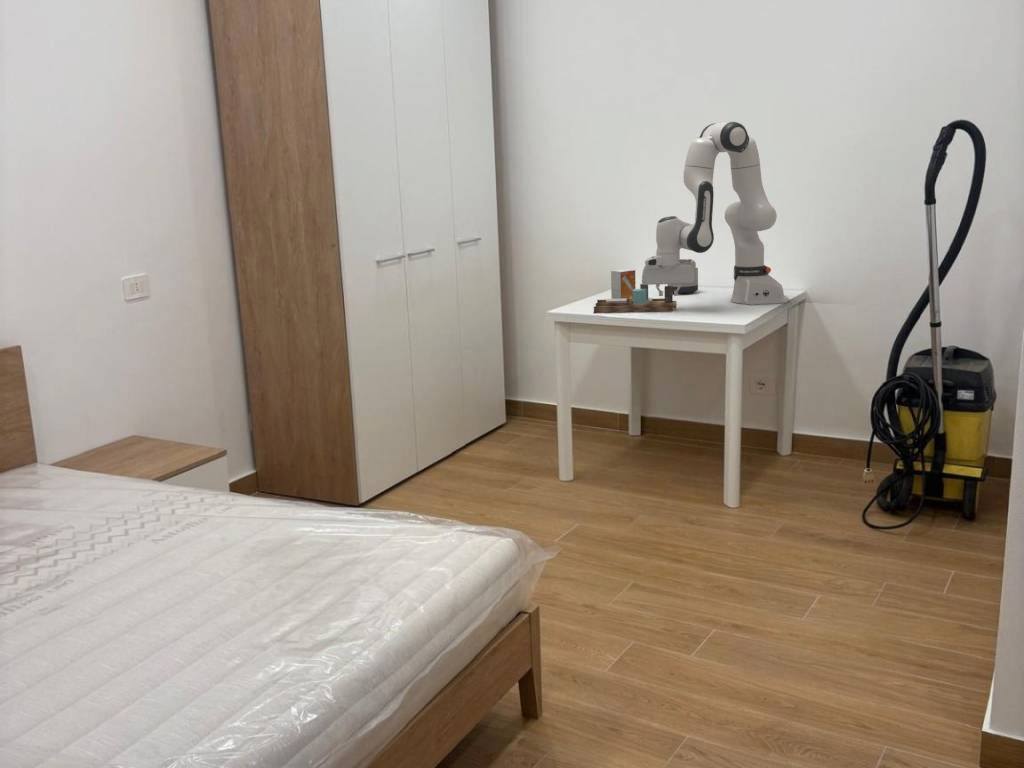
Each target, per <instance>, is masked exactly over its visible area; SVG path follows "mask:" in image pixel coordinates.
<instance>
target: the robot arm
mask: <svg viewBox="0 0 1024 768" xmlns="http://www.w3.org/2000/svg"><path fill="white" fill-rule="evenodd" d="M719 153H727V154H728V156H729V159H730V161H729V162H730V164H729V165H730V175H731V182H732V183H731V184H732V189H733V190H734V192H735V193H736V194H737V196H738V198H739V201H737V202H732V203H730V204H728V206H727V207H726V209H725V211H724V220H725V222H726V223H727V225H728V226H729V228H730V231H731V234H732V238H733V242H734V261H735V262H734V266H733V280H734V282H733V290H732V296H731V299H730V301H731V302H732V303H737V304H744V305H753V306H754V305H768V304H769V305H770V304H786V303H789V302H790V298H789V296H788V295H785V294H784V288H783V285H782V284H781V283H780V282H779V281H778V280H776V278H774V277H772V276H771V275H770V273H771V271H772V268H771V267H768V266H767V265H765V246H764V243H763V242H762V240H761V238H760V236H759V233H758V232H762V231H767V230H770V229H771V228H773V226H774V225H775V224H776V222H777V221H776V220H777V216H778V215H777V212H776V209H775V207H773V206H772V204H771V203H770V202H769V198H768V197H767V194H766V192H765V189H764V186H763V181H762V171H761V161H760V154H759V150H758V146H757V143H756V140H755V138H752V137H750V136H749V135H748V130H747V129H746V127H745V126H744V125H743V124H742V123H740V122H737V121H721V122H718V123H715V122H714V123H710V124H708V125H707V126H705V127H704V128H703V130H702V131H701V133H700V135H699V136H698V137H697V138H695V139H693V140H692V141H691V142H690V145H689V147H688V150H687V154H686V158H685V162H684V169H683V183H684V186H685V187H686V189H688V190H689V192H691V193H692V195H693V196H694V197H693V198H694V199H695V217H694V223H693V224H691V223H689V222H686V221H683V220H681V218H678V216H675V215H672V216H665V217H663V218H660V219H659V220H658V221H657V223H656V224H657V225H656V231H655V234H656V235H655V237H656V239H655V242H656V247H657V248H656V252H655V253H656V254H655V255H654V256H650V257H647V258H646V259H645V260H644V265H645V266H644V267H643V270H642V276H641V284H644V285H648V286H649V285H655V288H656V290H657V291H658V296H659V297H663V296H664V290H661V289H660V287H661V286H660V285H667V284H677V287H678V288H677V290H676V291H674V294H673V297H674V296H679V294H678V291H679V289H680V287H681V284H692V283H694V282H695V274H694V270H695V269H696V267H697V265H696V261H695V260H693V259H691V258H688V259H685V258H682V259H680V257H681V255H680V254H681V251H680V250H681V249H683V250H684V249H685V250H688V251H692V252H695V253H698V254H703V253H705V252H708V250H710V248H711V247H712V246H713V244H714V240H715V238H714V237H715V236H714V230H713V229H714V228H713V212H714V209H713V208H714V193H715V192H714V187H713V184H714V171H715V164H716V159H717V157H718V155H719Z"/></svg>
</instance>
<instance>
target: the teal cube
mask: <svg viewBox="0 0 1024 768" xmlns="http://www.w3.org/2000/svg"><path fill="white" fill-rule="evenodd" d="M646 302H647V289H640V288H636V289H633V304H646Z"/></svg>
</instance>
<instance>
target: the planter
mask: <svg viewBox="0 0 1024 768" xmlns="http://www.w3.org/2000/svg"><path fill="white" fill-rule="evenodd" d="M694 274H695V282H694V283H692V284H681V287H680V289H679V291H678V295H691V294H694V293H695V292H697V291H698V290H699V267H697V266H696V269H695V270H694ZM666 286H673V295H674V291H676V290H677V288H678V287H677V284H666Z"/></svg>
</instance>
